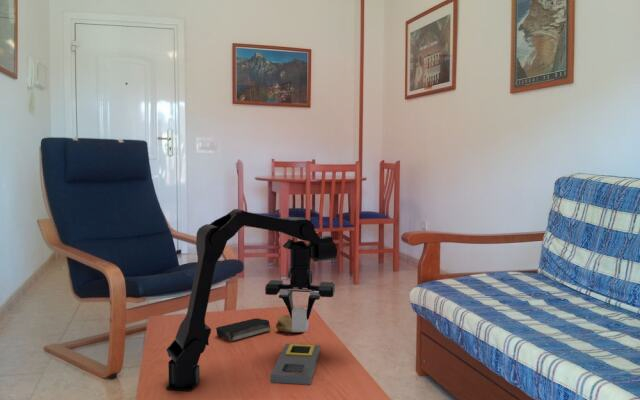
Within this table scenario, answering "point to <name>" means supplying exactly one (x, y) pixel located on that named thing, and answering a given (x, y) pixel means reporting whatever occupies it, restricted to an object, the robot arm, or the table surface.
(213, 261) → the robot arm
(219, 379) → the table surface
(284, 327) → the stone
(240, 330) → the black sponge
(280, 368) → the grey board with holes
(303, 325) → the grey metal block
